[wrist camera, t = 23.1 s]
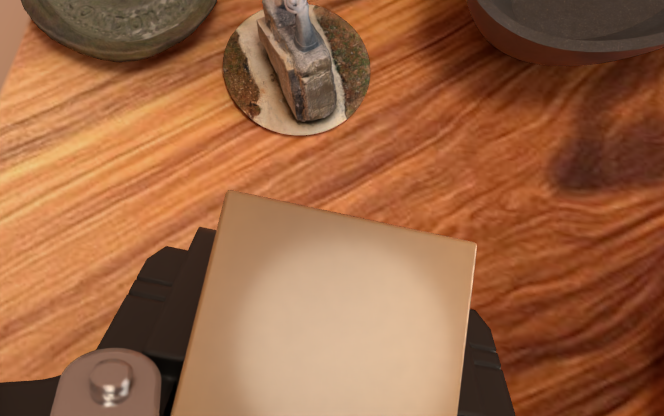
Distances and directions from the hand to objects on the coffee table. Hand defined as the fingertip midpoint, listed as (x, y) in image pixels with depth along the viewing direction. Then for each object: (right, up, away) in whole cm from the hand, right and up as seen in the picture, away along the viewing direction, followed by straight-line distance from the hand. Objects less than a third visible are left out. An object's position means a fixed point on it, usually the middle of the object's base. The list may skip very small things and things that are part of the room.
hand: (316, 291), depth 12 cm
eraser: (-1, -3, +3) cm, 4 cm away
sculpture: (-2, +9, +21) cm, 24 cm away
